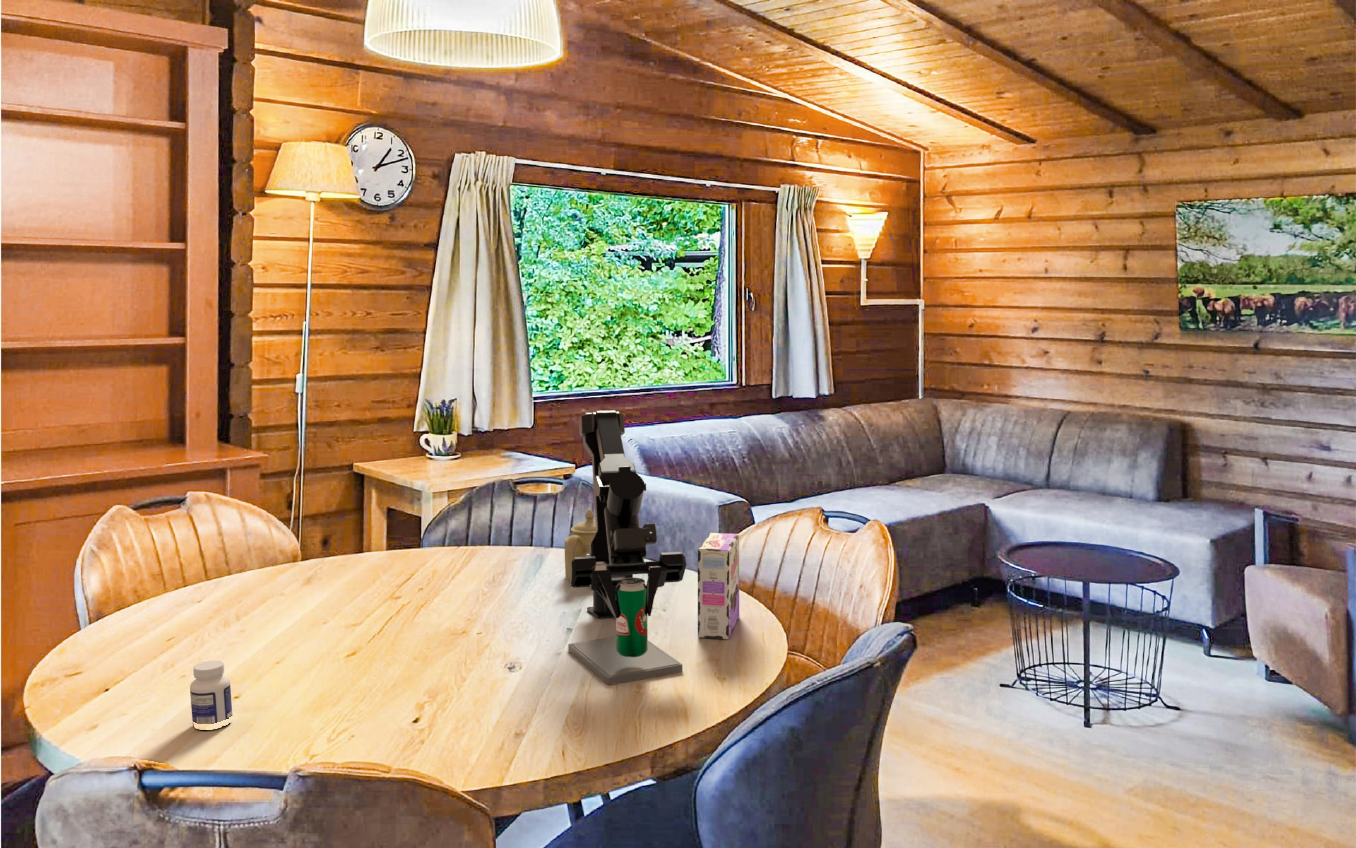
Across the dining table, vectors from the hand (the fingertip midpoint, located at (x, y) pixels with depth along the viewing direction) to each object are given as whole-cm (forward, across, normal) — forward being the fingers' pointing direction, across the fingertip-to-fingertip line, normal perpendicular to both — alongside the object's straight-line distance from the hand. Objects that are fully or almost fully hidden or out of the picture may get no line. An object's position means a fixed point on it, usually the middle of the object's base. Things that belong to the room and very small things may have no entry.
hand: (633, 616), depth 167 cm
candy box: (-8, +19, +22) cm, 30 cm away
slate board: (+2, -1, +12) cm, 12 cm away
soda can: (+4, 0, +6) cm, 7 cm away
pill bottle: (+12, -62, +2) cm, 63 cm away
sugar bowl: (-34, -1, +49) cm, 60 cm away
